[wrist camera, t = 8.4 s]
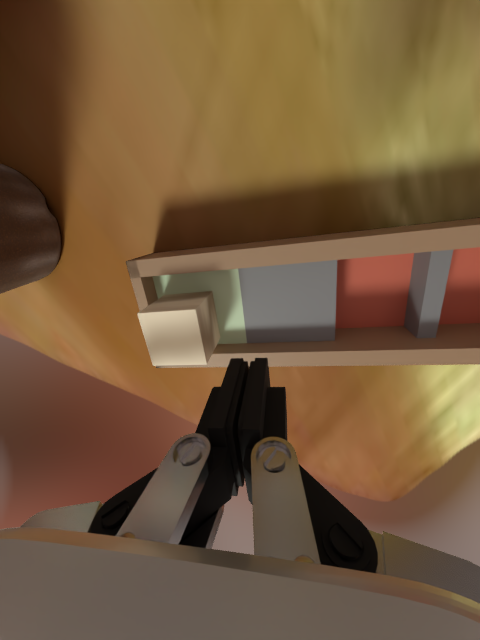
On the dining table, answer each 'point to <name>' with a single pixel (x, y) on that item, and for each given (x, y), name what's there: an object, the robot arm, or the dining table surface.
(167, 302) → the birch block
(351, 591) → the robot arm
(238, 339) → the track
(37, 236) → the plant pot
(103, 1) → the dining table surface
